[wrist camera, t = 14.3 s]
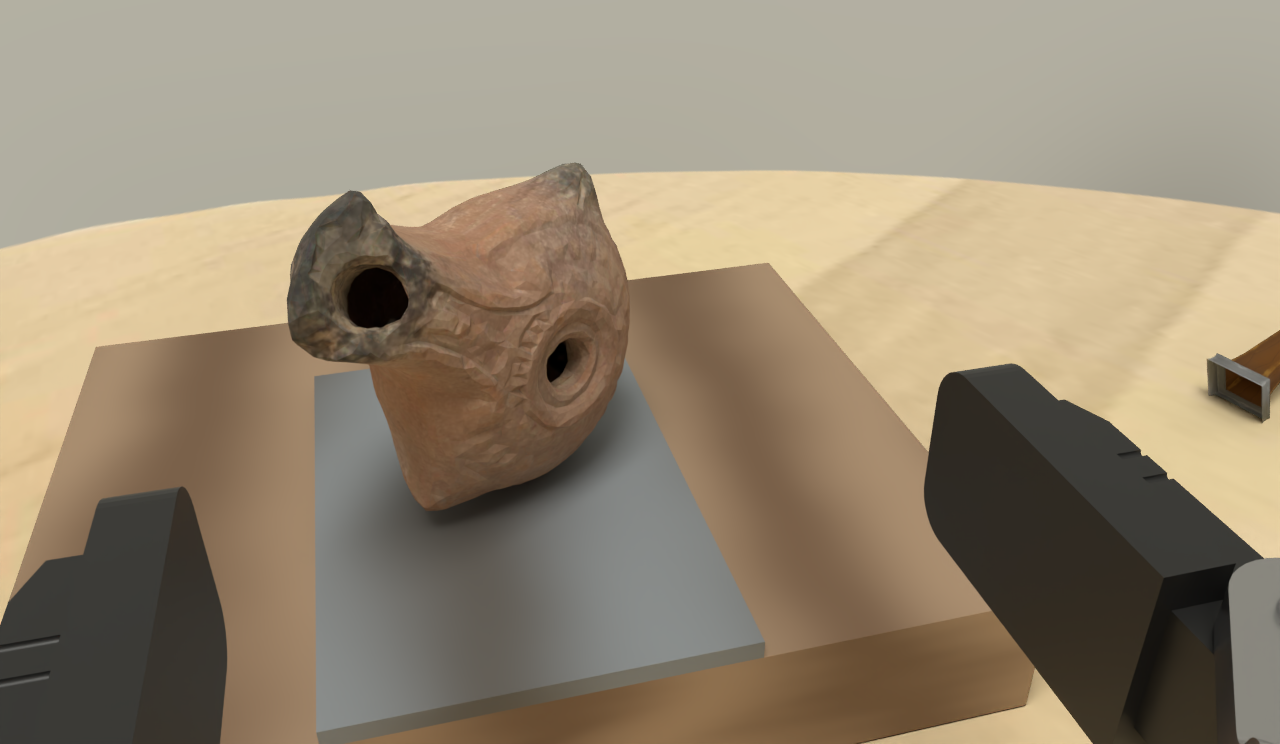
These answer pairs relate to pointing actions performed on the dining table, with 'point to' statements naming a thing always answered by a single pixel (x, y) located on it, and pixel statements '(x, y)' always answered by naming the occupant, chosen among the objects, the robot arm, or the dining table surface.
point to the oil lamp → (472, 327)
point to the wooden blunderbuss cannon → (1247, 377)
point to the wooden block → (558, 544)
